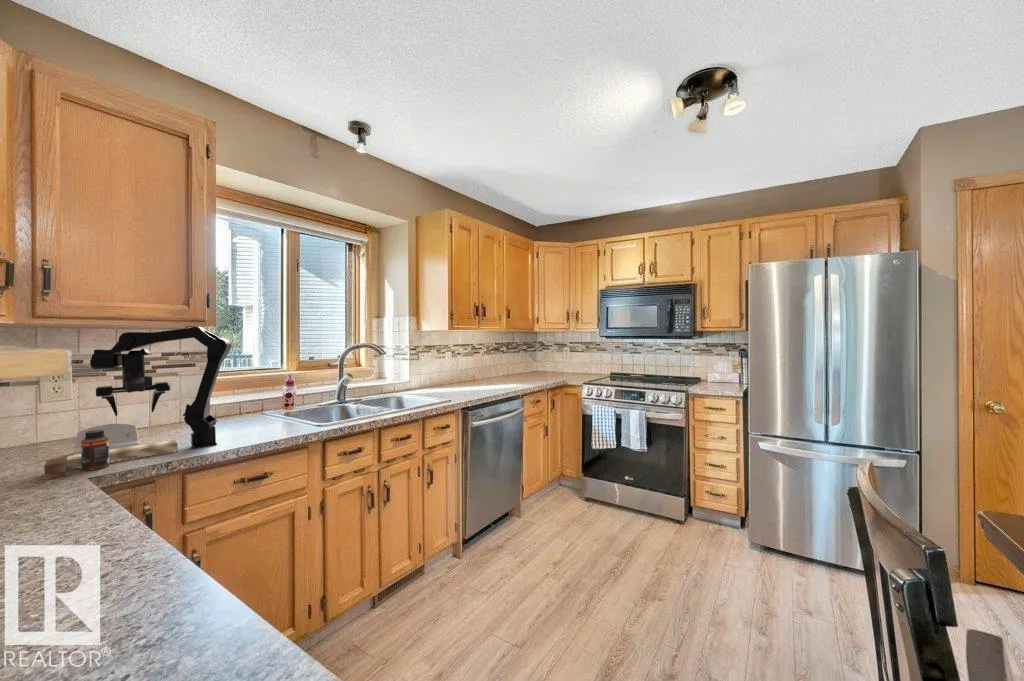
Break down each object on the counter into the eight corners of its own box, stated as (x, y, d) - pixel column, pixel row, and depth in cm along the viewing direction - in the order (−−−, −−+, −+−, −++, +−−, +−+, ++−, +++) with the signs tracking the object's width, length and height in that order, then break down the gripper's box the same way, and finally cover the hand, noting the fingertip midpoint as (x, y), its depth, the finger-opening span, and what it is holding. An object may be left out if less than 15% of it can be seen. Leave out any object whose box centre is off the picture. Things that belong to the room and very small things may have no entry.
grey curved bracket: (71, 456, 138) (72, 426, 140) (74, 458, 141) (74, 429, 144) (139, 447, 149) (139, 419, 151) (140, 449, 152) (139, 422, 154)
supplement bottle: (115, 464, 130) (114, 428, 129) (97, 471, 124) (95, 433, 124) (95, 464, 129) (94, 428, 129) (75, 471, 124) (74, 433, 123)
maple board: (175, 448, 147) (174, 439, 147) (177, 451, 143) (177, 442, 143) (67, 465, 129) (67, 455, 129) (66, 470, 125) (66, 459, 125)
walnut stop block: (66, 470, 124) (66, 457, 124) (65, 476, 120) (65, 462, 119) (46, 473, 122) (46, 460, 121) (44, 479, 117) (44, 465, 117)
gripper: (95, 372, 131) (96, 421, 131) (171, 368, 144) (172, 413, 144) (95, 369, 139) (96, 416, 139) (167, 366, 152) (168, 408, 152)
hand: (134, 413), depth 144 cm, fingers open, 9 cm apart
